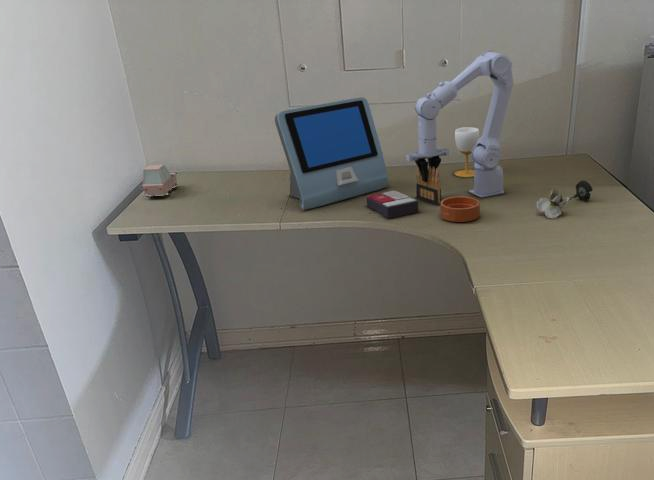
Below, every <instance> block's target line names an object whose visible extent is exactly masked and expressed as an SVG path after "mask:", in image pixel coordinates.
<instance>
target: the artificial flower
mask: <svg viewBox="0 0 654 480" xmlns="http://www.w3.org/2000/svg"><path fill="white" fill-rule="evenodd" d="M575 190H576V192H575V194H574V196H571V197H569V196H567V197H565V198H563V195H562V193H561V194H559V189H558V188H557V187H555V188H552V190H551V192H550V194H549V199H550V200H549V199H548V198H547V197H541V198H540V199H538V200H537V202H536V208H537V210H538V211H539V212H542V213H544V215H545V216H546V218H547V219H556V218H558V217H559V216H561V215H562V210H561V209H560V207H562V206H565V205H566V203H567V202H569V201H571V200H572V199H577V198H578V199H579V200H583V201H588V200H590V199H591V197H592V194H591V192H593V187H592V185H591V183H590V182H588V181H586V180H580V181H578V182H577V183H576V184H575Z"/></svg>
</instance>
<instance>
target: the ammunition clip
mask: <svg viewBox="0 0 654 480" xmlns="http://www.w3.org/2000/svg"><path fill="white" fill-rule="evenodd" d="M415 185H416V186H415V187H416V188H415V189H416V191H415V192H416V193H415V194H416V196H415V198H416V200H420V201H423V202H427V203H430V204H432V205H434V206H440V203H441V201H442V188H441V180H440V171H439V167H438V168H437V169H436V174H435V168H434V167H433V169H431V166H429V165H428V168H427V182H424V181H422V177H421V173H420V170H419V168H418V167H417V175H416V184H415Z"/></svg>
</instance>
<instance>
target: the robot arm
mask: <svg viewBox="0 0 654 480" xmlns="http://www.w3.org/2000/svg"><path fill="white" fill-rule="evenodd" d="M512 68H513V63H512V61H511V60H510V58H509V57H508V56H507V55H506V54H505V53H499V52H495V51H492V50H487V51H485V52H483V53H482V54H481V55H479V56H477V57H476V58H475V59H474V60H473V61H472V63H470V64H469V65H468V66H467V67H466V68H464V70H462V71H461V72H460V73H459V74H458V75H457V76H456V77H455V78H454V79H452V80H451V81H447V80H445V81H444V82H443V81H440V82H439V83H438V86H437V87H436V88H434V90H432V91H431V92H428V93H426V96H422V97H420V98H419V99H418V100H417V102H416V104H415V106H414V111H415V113H416V114H417V122H418V123H417V132H418V135H417V136H418V151H416V152H413V153H408V154H406V156H405V157H406V162H408V163H411V162H412V163H413V162H415V164H416V166H417V169H418V168H419V170H420V173H421V177H422V181H424V182H427V168H428V169H429V166H431V169H433V167H434V168H435V174H436V169H437V168H438V169H439V167H440V164H441V162H442V158H441V157H444V156H445V157H447V156H450V149H448V148H445V147H444V148H438V143H437V139H438V138H437V117H438V115H439V113H440V111H441V110H442V109H443V108H444V107H446V106H447V105H448V104H449V103H451V102H452V101H453V100H454V99H456V98H457V96H458V91H459V90H461V89H462V88H464V87H465V86H467V85H468V84H470V83H471V82H472V81H474V80H475V79H476V78H478V77H482V76H483V77H484V76H487V77H489V78H490V80H491V81H492V83H493V85H494V89H493V93H492V96H491V100H490V103H489V107H488V111H487V115H486V118H485V122H484V125H483V126H484V127H483V130H482V134H481V135H480V136H479V139H478V140H477V144H476V146H475V147H474V148H473V150H472V153H471V159H472V160H473V162H474V165H473V166H474V169H473V170H474V177H473V189H470V190H468V193H470V194H472V195H474V196H477V197H479V198H480V199H481V198H488V197H492V196H497V195H502V194H505V191H504V171H503V168H502V167H501V166H500V165H499V163H500V159H501V158H500V150H501V146H500V142H499V137H500V133H501V130H502V128H503V127H502V126H503V123H504V119H505V115H506V112H507V109H508V105H509V102H510V97H511V94H512V91H513V87H514V77H513V71H512Z"/></svg>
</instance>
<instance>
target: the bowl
mask: <svg viewBox="0 0 654 480" xmlns="http://www.w3.org/2000/svg"><path fill="white" fill-rule="evenodd" d="M439 206H440V217H441V218H442V219H443V220H446V221H448V222H449V221H450V222H452V223H465V222H466V223H467V222H471V221H475V220H477V219H478V218H479V217H480V213H481V201H480V200H479V199H477V198H474V197H471V196H450V197H447V198H444V199H441V203H440V204H439Z"/></svg>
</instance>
